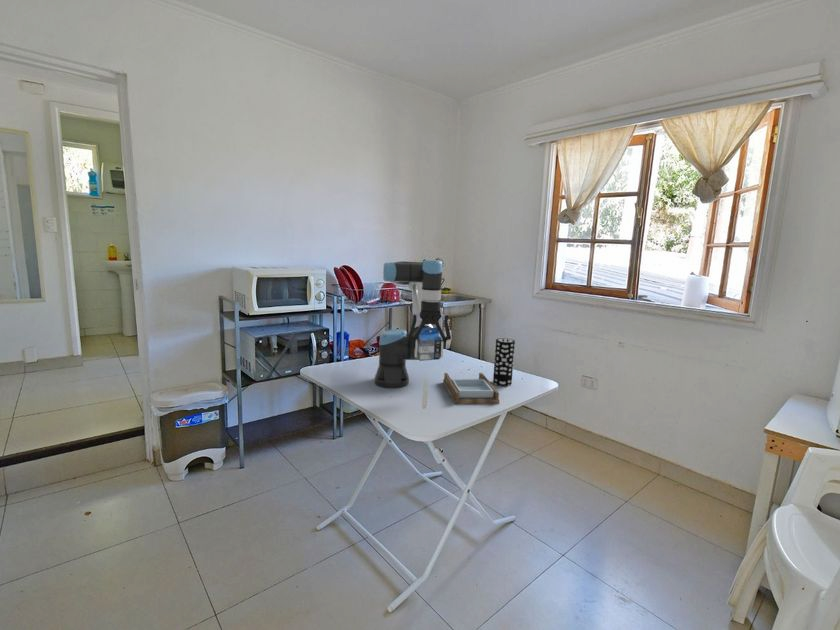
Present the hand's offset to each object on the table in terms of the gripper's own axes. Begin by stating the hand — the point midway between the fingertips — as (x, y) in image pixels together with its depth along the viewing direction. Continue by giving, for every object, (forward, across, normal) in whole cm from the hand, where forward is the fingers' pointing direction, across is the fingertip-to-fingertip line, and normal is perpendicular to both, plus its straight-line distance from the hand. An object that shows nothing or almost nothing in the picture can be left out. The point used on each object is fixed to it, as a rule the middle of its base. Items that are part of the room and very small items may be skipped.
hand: (428, 356), depth 161 cm
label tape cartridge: (+1, 0, 0) cm, 1 cm away
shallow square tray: (+16, -19, -2) cm, 25 cm away
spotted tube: (+17, -37, -17) cm, 44 cm away
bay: (+17, -19, -6) cm, 26 cm away
